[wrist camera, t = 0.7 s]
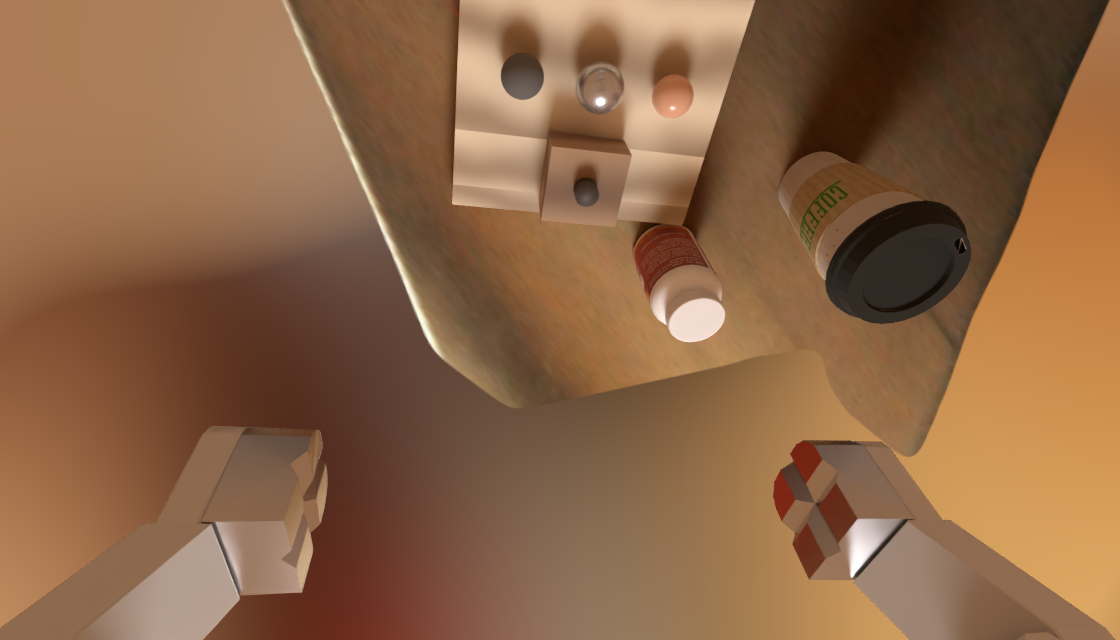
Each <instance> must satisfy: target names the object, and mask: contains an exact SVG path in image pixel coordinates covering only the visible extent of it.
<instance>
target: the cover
mask: <svg viewBox="0 0 1120 640" xmlns="http://www.w3.org/2000/svg"><path fill="white" fill-rule="evenodd" d="M631 157H632V154H631V152H630V150H629V149H628V147H627V145H626V143H625V141H624V140H618V139H609V138H601V137H592V136H583V135H575V134H566V133H558V132H549V131H548V138H547V146H546V153H545V160H544V167H543V174H542V181H541V188H540V195H539V210H540V216H541V220H542V221H554V222H565V223H576V224H587V225H599V226H610V227H615V224H616V220H617V216H618V212H619V208H620V203H621V199H622V195H623V191H624V187H625V182H626V178H627V174H628V170H629V166H630V162H631Z"/></svg>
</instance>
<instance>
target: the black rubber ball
mask: <svg viewBox="0 0 1120 640" xmlns="http://www.w3.org/2000/svg"><path fill="white" fill-rule="evenodd" d="M501 82H502V85H503V87H504V89H505V91H506V92H507V93H508V94H509V95H510V96H512V97H513V98H516V99H519V100H527V99H530V98H532V97H534V96H535V95H537V94H538V92H539V91H540V90H541V88H542V85H543V82H544V72H543V68H542V66H541V64H540V63H539V61H538V60H537V59H536V58H535V57H533V56H532V55H530V54H527V53H516V54H514V55H512V56H510V57H509V58H508V59H507V60H506V61H505V62H504V64H503V66H502V69H501Z"/></svg>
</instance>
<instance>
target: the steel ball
mask: <svg viewBox="0 0 1120 640" xmlns="http://www.w3.org/2000/svg"><path fill="white" fill-rule="evenodd" d="M624 90H625V83H624V79H623V76H622V74H621V72H620V71H619V69H618V68H617V67H616V66H615V65H613V64H612V63H609V62H606V61H595V62H592V63H590V64H588V65H586V66H585V67H584V68H583V69H582V70H581V71H580V73H579V75H578V77H577V80H576V84H575V92H576V97H577V99H578V102H579V103H580V105H581V106H582V107H583V108H584V109H585V110H587V111H588V112H590V113H593V114H605V113H608V112H610V111H612V110H614V109H615V108H616V107H617V106H618V105H619V103H620V102H621V100H622V98H623V95H624Z"/></svg>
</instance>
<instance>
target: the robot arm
mask: <svg viewBox="0 0 1120 640" xmlns="http://www.w3.org/2000/svg"><path fill="white" fill-rule="evenodd" d="M322 446H323V444H322V439H321V434H320V431H316V430H298V429H276V428H254V427H222V426H211V427H210V428H209V429H208V430H207V431H206V432H205V433H204V434H203V435H202V436H201V438H200V440H199V442H198V444H197V445H196V448H195V449H194V451H193V453H192V455H191V457H190V459H189V461H188V462H187V464H186V466H185V468H184V470H183V472H182V474H181V476H180V477H179V479H178V481H177V483H176V485H175V487H174V489H173V490H172V492H171V494H170V496H169V498H168V500H167V502H166V504H165V505H164V507H163V509H162V511H161V513H160V515H159V517H158V519H157V520H156V522H155V524H142V525H141V526H139V527H138V528H137V529H135V530H134V531H133V532H131V533H130V534H128V535H127V536H126V537H124V538H123V539H122V540H120V541H119V542H117V543H116V544H115V545H113V546H112V547H111V548H109V549H108V550H106V551H105V552H104V553H102V554H101V555H100V556H98V557H97V558H96V559H94V560H93V561H92V562H90V563H89V564H87V565H86V566H85V567H83V568H82V569H80V570H79V571H78V572H77V573H75V574H74V575H72V576H71V577H70V578H68V579H67V580H65V581H64V582H63V583H61V584H60V585H59V586H57V587H56V588H54V589H53V590H52V591H50V592H49V593H48V594H47V595H45V596H44V597H42V598H41V599H39V600H38V601H37V602H35V603H34V604H33V605H31V606H30V607H29V608H27V609H26V610H24V611H23V612H22V613H20V614H19V615H18V616H16V617H15V618H13V619H12V620H11V621H9V622H8V623H7V624H5V625H4V626H2V627H1V628H0V640H203V639H204V638H205V637H206V636H207V634H209V632H210V631H211V630H212V629H213V628H214V627H215V626H216V625H217V624H218V623H219V621H220V620H221V619H222V618H223V617H224V616H225V615H226V614H227V613H228V612H229V610H230V609H231V608H232V607H233V606H234V605H235V604H236V603H237V602H238V600H239V599H240V598H239V595H257V594H275V593H296V592H302V589H303V585H304V582H305V578H306V574H307V570H308V567H309V564H310V560H311V556H312V552H313V546H312V541H311V536H310V533H311V532H312V531H313V530H314V529H315V528H316V527H317V526H318V525H319V524H320V523H321V519H322V515H323V511H324V507H325V499H326V492H327V470H326V464H325V463H324V462H322V461H321V460H320V459H319V457H320V454H321V450H322ZM790 455H791V458H792V460H793V462H792V463H790V464H789V465H787V466H786V467H784V468H783V469H781V470H780V472H779V474H778V476H777V478H776V480H775V481H774V492H773V493H774V494H773V498H774V502H775V506H776V510H777V512H778V514H779V516H780V518H781V521H782V522H783V523H784V524H785V525H787V526H788V527H789V528H790V529H791V530H792V531H794V532H795V534H794V539H793V547H794V549H795V551H796V553H797V555H798V557H799V559H800V561H801V563H802V566H803V568H804V570H805V572H806V574H807V576H808V578H809V580H855V581H854V582H853V583H854V584H855V585H856V586H857V587H858V588H859V589H860V590H861V591H862V592H863V593H864V594H865V595H866V596H867V597H868V598H869V599H870V600H871V601H872V602H873V603H874V604H875V605H876V606H877V607H878V608H879V609H880V610H881V611H882V612H883V613H884V614H885V615H886V616H887V617H888V618H889V619H890V620H891V621H892V622H893V623H894V624H895V625H896V626H897V627H898V628H899V629H900V630H901V631H902V633H904V634H905V635H906V637H907V638H909V640H1115V639H1114V638H1113V636H1112V635H1111V634H1110V633H1109V632H1108V631H1107V629H1106V628H1105V627H1103V626H1102V625H1100V624H1099V623H1098V622H1096V621H1095V620H1093V619H1092V618H1090V617H1089V616H1088V615H1086V614H1085V613H1083V612H1081V611H1080V610H1079V609H1077V608H1076V607H1074V606H1073V605H1072V604H1070V603H1069V602H1067V601H1066V600H1064V599H1063V598H1061V597H1060V596H1059V595H1057V594H1056V593H1054V592H1053V591H1051V590H1050V589H1049V588H1047V587H1046V586H1044V585H1043V584H1041V583H1040V582H1039V581H1037V580H1036V579H1034V578H1033V577H1031V576H1030V575H1028V574H1027V573H1026V572H1024V571H1023V570H1021V569H1020V568H1018V567H1017V566H1015V565H1014V564H1013V563H1011V562H1010V561H1008V560H1007V559H1006V558H1004V557H1003V556H1001V555H1000V554H998V553H997V552H995V551H994V550H993V549H991V548H990V547H988V546H987V545H985V544H984V543H983V542H981V541H980V540H978V539H977V538H975V537H974V536H972V535H971V534H969V533H968V532H967V531H965V530H964V529H962V528H961V527H959V526H958V525H957V524H955V523H953V522H952V521H951V520H942V518H941V517H940V515H939V514H938V513H937V511H936V510H935V509H934V507H933V506H932V505H931V503H930V502H929V500H928V499H927V498H926V496H925V495H924V494H923V492H922V491H921V490H920V488H919V487H918V486H917V484H916V483H915V481H914V480H913V479H912V477H911V476H910V475H909V473H908V472H907V470H906V469H905V468H904V466H903V465H902V464H901V462H900V461H899V459H898V458H897V457H896V455H895V454H894V453H893V451H892V450H891V449H890V448H889V447H888V446H887V445H885V444H884V443H882V442H866V441H865V442H864V441H854V442H852V441H819V440H816V441H815V440H804V441H801V442H800V443H798V444H796V445H795V447H794V449H793V450H792V452H791V453H790Z"/></svg>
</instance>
